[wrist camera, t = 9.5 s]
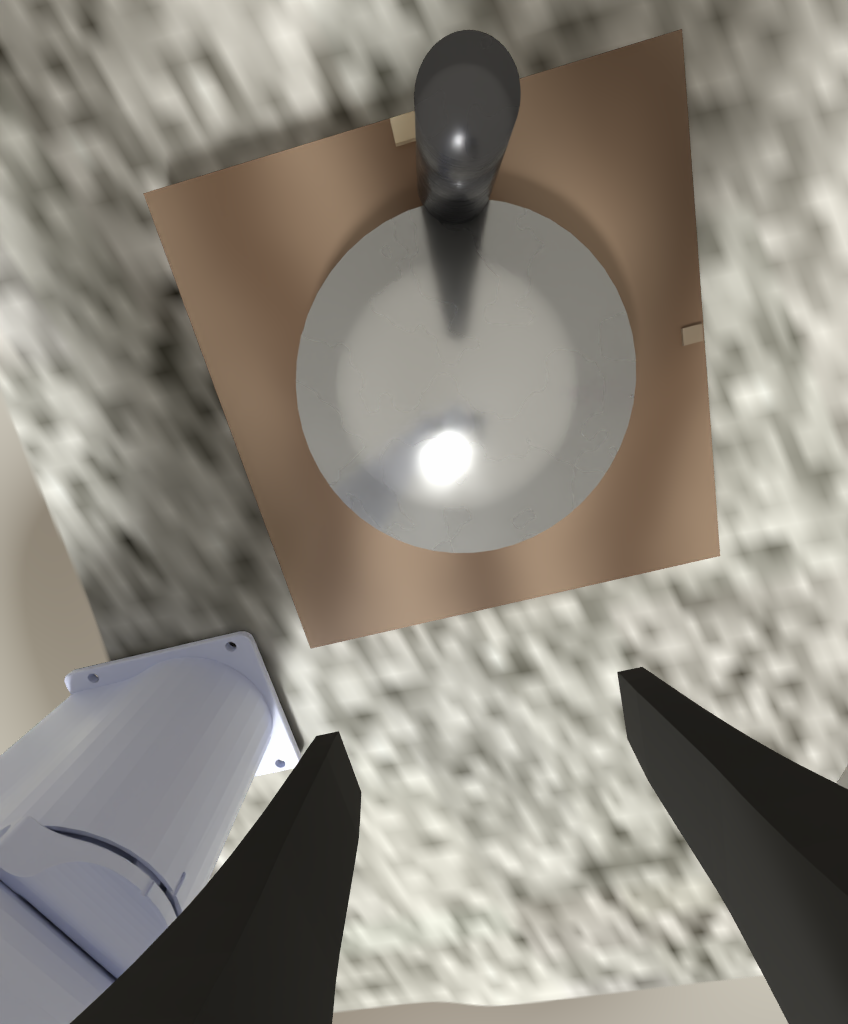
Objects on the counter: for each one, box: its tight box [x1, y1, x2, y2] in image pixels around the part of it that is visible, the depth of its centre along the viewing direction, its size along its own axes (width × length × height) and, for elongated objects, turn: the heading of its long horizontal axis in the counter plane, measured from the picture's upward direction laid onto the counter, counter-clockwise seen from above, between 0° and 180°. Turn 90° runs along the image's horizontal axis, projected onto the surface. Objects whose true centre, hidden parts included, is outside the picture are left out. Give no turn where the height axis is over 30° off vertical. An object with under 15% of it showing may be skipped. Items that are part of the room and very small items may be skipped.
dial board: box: [143, 29, 720, 648], centre depth 17 cm, size 18×18×2 cm
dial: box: [296, 30, 636, 553], centre depth 14 cm, size 14×12×5 cm
